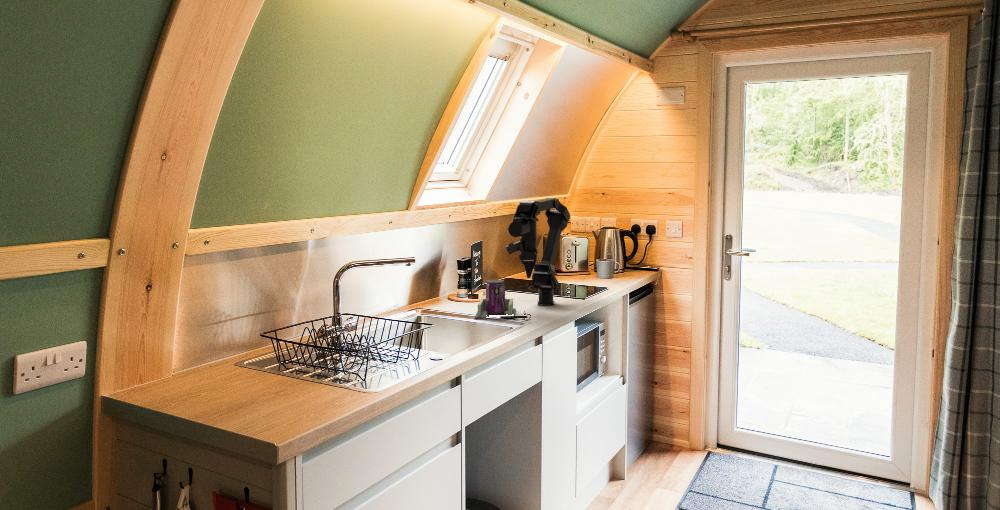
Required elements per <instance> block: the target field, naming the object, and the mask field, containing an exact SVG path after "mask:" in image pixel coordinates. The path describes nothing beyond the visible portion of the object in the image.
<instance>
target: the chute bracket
mask: <svg viewBox="0 0 1000 510" xmlns="http://www.w3.org/2000/svg"><path fill="white" fill-rule="evenodd" d="M516 311H517V308H515V307H514V298H505V312H503V313H502V314H489V313H488V312H486V298H481V299H479V302H478V303H477V312H476V313H475V315H474V320H484V319H483V318H486V317H487V316H488V317H489V315H506V314H508V315H512V314H515V315H516V313H515V312H516ZM486 315H487V316H486Z"/></svg>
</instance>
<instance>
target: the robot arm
mask: <svg viewBox="0 0 1000 510" xmlns="http://www.w3.org/2000/svg"><path fill="white" fill-rule="evenodd" d="M541 212H544V214H545V216H546V218H547V219H546V220H547V221H546V222H547V225H548V228H549V229H548V232H547V237H546V240H545V245H544V249H543V252H542V257H541V260H540V262H539V263H537V260H538V259H537V258H538V254H539V249H538V245H537V243H538V242H537V240H538V239H537V222H539V221H540V220H539V218H538V216H539V215H540V214H541ZM570 219H571V214H570V211H569V210H568V208H567V206H566V205H564V204H563V203H561V201H560V200H559V198H556V197H546V198H543V199H539V200H520V201H519V203H518V205H517V207H516V210H515V212H514V215H513V218H512V222H510V224H509V225H508V227H507V230H508V234H509V235H510V236H511V237H513V238H518V237H520V238H519V241H516V242H510V243H508V244H507V245H506V246H505V249H506V252H507V254H508V255H512V254H514V253H517V252H520V253H519V257H518V258H519V261H520V263H522V265H523V266H524V269H525V270H524V271H525V275H526V278H527V279H531V280H532V281H531V282H532V286H533V289H538V300H537V306H555V300H554V290H558V289H559V286H560V282H559V280H558V279H557V277H556V269H555V268H554V265H555V264H554V263H555V258H556V257H557V256H556V255H557V251H558V247H559V242H560V240H561V239H560V238H561V234H562V232H563V231H564V230H565V229H566V228H567V227H568V224H569V222H570Z"/></svg>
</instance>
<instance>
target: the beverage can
mask: <svg viewBox="0 0 1000 510" xmlns="http://www.w3.org/2000/svg"><path fill="white" fill-rule="evenodd" d="M504 281H505V280H504V279H500V278H499V279H496V278H494V279H488V280H486V284H485V299H486V312H488V313H489V314H502V313H503V312H505V299H506V284H505V283H504Z"/></svg>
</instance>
